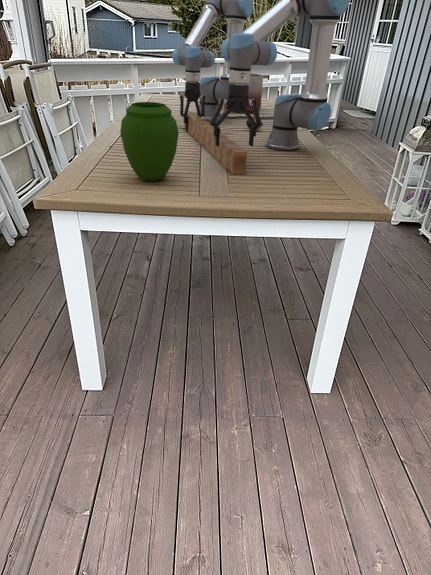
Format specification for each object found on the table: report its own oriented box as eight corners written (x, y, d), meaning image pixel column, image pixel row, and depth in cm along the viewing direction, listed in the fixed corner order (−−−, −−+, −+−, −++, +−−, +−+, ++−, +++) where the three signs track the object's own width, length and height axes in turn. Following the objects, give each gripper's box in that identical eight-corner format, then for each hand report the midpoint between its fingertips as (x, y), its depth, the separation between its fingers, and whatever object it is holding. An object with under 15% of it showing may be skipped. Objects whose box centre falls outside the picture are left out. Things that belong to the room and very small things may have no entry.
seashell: (261, 129, 230) (262, 114, 225) (263, 131, 225) (265, 115, 221) (244, 128, 228) (245, 113, 224) (246, 131, 224) (247, 115, 219)
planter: (264, 113, 274) (268, 77, 262) (227, 113, 270) (229, 75, 258) (255, 107, 295) (258, 73, 283) (220, 106, 291) (222, 72, 279)
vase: (131, 189, 135) (125, 110, 122) (118, 172, 150) (112, 100, 137) (186, 184, 142) (187, 109, 129) (169, 168, 157) (167, 99, 144)
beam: (184, 128, 223) (184, 112, 218) (193, 128, 224) (193, 112, 220) (232, 174, 155) (234, 151, 151) (245, 173, 157) (247, 151, 152)
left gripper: (176, 82, 200) (176, 132, 212) (212, 82, 205) (210, 131, 217) (173, 80, 206) (173, 129, 218) (208, 81, 211) (206, 128, 223)
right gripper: (208, 83, 139) (205, 148, 150) (275, 86, 146) (267, 147, 157) (202, 81, 145) (200, 143, 156) (267, 83, 152) (260, 143, 163)
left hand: (192, 130), depth 218 cm, fingers closed on beam, 5 cm apart
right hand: (234, 145), depth 156 cm, fingers open, 13 cm apart
